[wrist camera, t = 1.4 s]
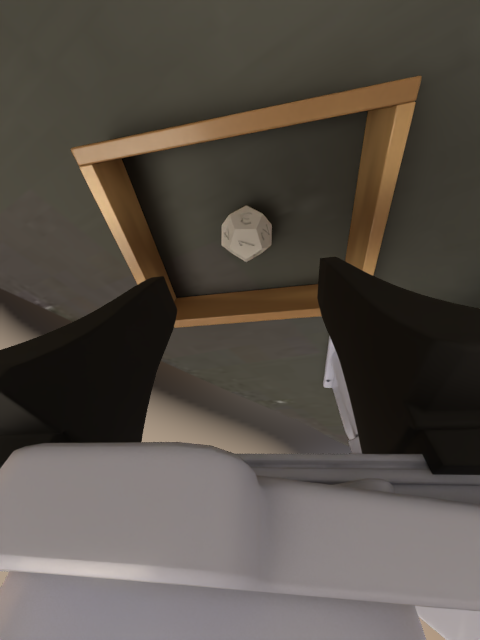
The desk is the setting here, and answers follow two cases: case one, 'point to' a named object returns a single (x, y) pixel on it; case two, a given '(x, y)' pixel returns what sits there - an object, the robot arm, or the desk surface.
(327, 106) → the wooden box
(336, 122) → the desk surface
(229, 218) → the game die
